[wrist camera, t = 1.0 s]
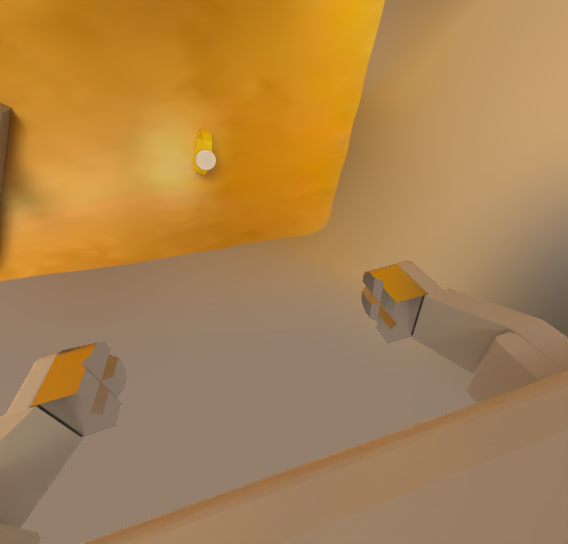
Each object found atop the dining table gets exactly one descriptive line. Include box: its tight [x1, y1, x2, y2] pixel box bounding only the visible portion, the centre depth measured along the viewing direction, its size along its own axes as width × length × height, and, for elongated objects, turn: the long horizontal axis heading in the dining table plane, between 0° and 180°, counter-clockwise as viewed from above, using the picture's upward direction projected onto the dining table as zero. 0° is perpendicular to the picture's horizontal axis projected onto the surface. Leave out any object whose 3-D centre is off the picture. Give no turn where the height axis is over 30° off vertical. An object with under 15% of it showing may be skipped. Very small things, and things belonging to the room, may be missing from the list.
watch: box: [194, 129, 216, 175], centre depth 39 cm, size 6×3×6 cm, turn 159°
